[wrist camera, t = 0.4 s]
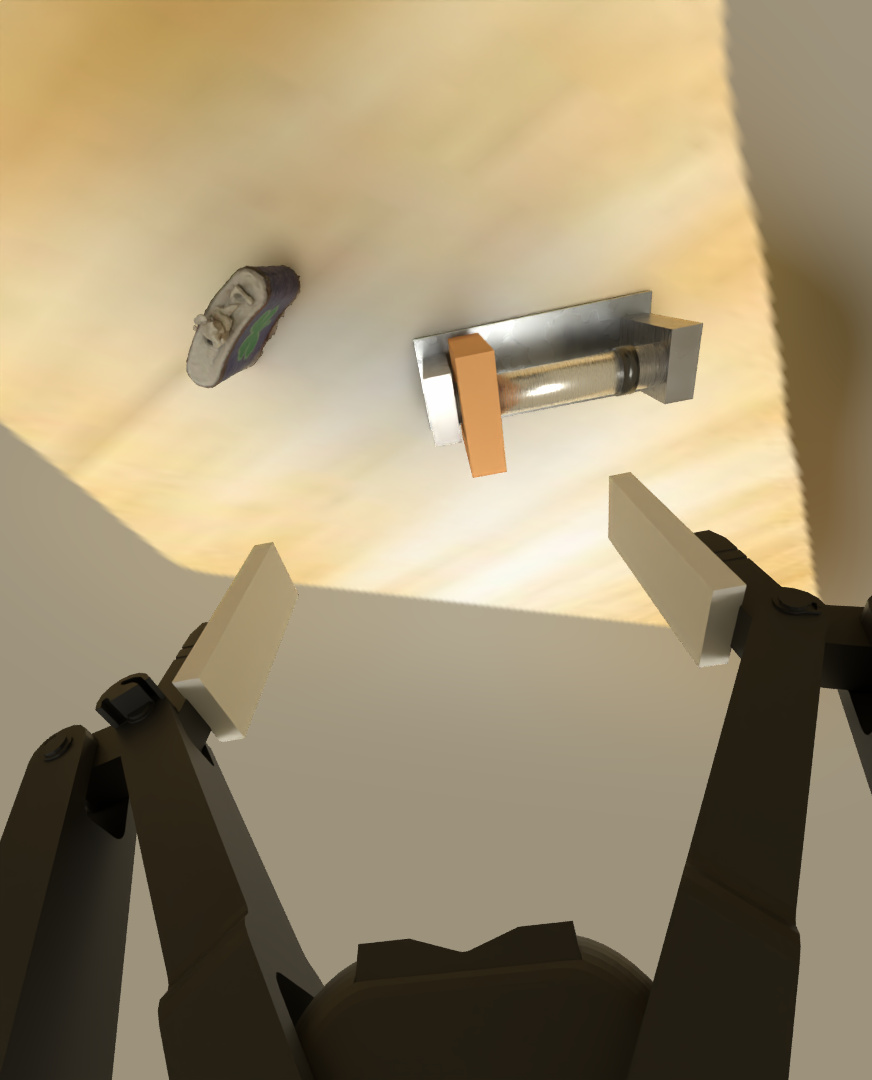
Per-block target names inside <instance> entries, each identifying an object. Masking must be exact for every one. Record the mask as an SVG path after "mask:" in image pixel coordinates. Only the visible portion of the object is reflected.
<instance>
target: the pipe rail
mask: <svg viewBox="0 0 872 1080" xmlns="http://www.w3.org/2000/svg"><path fill="white" fill-rule="evenodd" d="M651 299H652V291H643V292H639V293H634V294H629V295H624V296H619V297H614V298H610V299H605V300H600V301H595V302H590V303H585V304H581V305H576V306H571V307H566V308H561V309H557V310H552V311H547V312H542V313H537V314H532V315H528V316H523V317H518V318H513V319H508V320H503V321H499V322H494V323H489V324H484V325H479V326H474V327H470V328H465V329H460V330H455V331H450V332H446V333H441V334H436V335H431V336H426V337H421V338H417V339H413V342H414V347H415V352H416V357H417V362H418V367H419V372H420V377H421V383H422V388H423V393H424V398H425V403H426V408H427V413H428V419H429V424H430V429H431V431H432V430H433V436H434V441H435V446H436V447H438V446H444V445H449V444H454V443H460V442H462V441H461V434H460V428H459V425H461V423H463V419H462V412H461V406H460V399H459V392H458V386H457V382H454V378H453V371H452V365H451V358H450V352H449V345H448V338H453V337H458V336H463V335H468V334H473V333H479V334H480V336H481V337H482V338H483V339H484V340H485V341H486V342H487V343H488V344H489V345H490V346H491V347H492V348H493V350H494V353H495V363H496V372H497V382H498V392H499V402H500V411H501V417H506V416H511V415H516V414H522V413H527V412H532V411H537V410H543V409H548V408H553V407H558V406H564V405H569V404H574V403H579V402H585V401H590V400H595V399H600V398H605V397H611V396H621V395H627V394H632V393H634V392H637V391H641V392H643V393H645V394H647V395H649V396H651V397H652V398H654V399H656V400H658V401H660V402H662V403H664V404H668V403H673V402H678V401H684V400H689V399H693V393H694V386H695V379H696V371H697V364H698V357H699V349H700V342H701V335H702V327H703V323H699V322H694V321H688V320H683V319H677V318H672V317H666V316H661V315H655V314H650V312H651Z"/></svg>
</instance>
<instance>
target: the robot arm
mask: <svg viewBox="0 0 872 1080" xmlns="http://www.w3.org/2000/svg"><path fill="white" fill-rule="evenodd" d="M608 538H609V540H610V541H611V542H612V544H613V545H614V547H615V548H616V550H617V551H618V552H619V554H620V555H621V557H622V558H623V560H624V561H625V563H626V564H627V565H628V567H629V568H630V570H631V571H632V573H633V574H634V575H635V577H636V578H637V580H638V581H639V583H640V584H641V586H642V587H643V588H644V590H645V591H646V593H647V594H648V596H649V597H650V598H651V600H652V601H653V603H654V604H655V606H656V607H657V609H658V610H659V611H660V613H661V614H662V616H663V617H664V619H665V620H666V621H667V623H668V624H669V626H670V627H671V629H672V630H673V632H674V633H675V634H676V636H677V637H678V639H679V640H680V642H681V643H682V644H683V646H684V647H685V649H686V650H687V651H688V653H689V655H690V656H691V657H692V659H693V660H694V662H695V663H696V665H697V666H698V667H699V668H700V667H706V666H712V665H719V664H726V663H728V660H729V656H730V652H731V648H733V650H734V651H735V652H736V653H737V655H738V656H739V657H740V658H741V662H740V665H739V669H738V673H737V676H736V680H735V684H734V688H733V691H732V695H731V699H730V703H729V706H728V710H727V713H726V717H725V721H724V725H723V728H722V732H721V735H720V739H719V743H718V747H717V750H716V754H715V757H714V761H713V765H712V768H711V773H710V776H709V779H708V783H707V787H706V790H705V794H704V798H703V801H702V805H701V809H700V813H699V816H698V820H697V824H696V827H695V831H694V835H693V838H692V842H691V846H690V849H689V853H688V857H687V861H686V864H685V867H684V871H683V875H682V878H681V882H680V885H679V889H678V893H677V897H676V900H675V904H674V908H673V911H672V915H671V918H670V922H669V926H668V929H667V933H666V937H665V941H664V944H663V948H662V952H661V955H660V959H659V962H658V966H657V970H656V973H655V977H654V981H653V982H652V981H651V979H650V978H649V977H648V976H646V975H645V974H644V973H643V972H642V971H641V970H640V969H639V968H638V967H637V966H635V965H634V964H633V963H632V962H631V961H629V960H628V959H626V958H625V957H624V956H622V955H621V954H620V953H618V952H616V951H614V950H613V949H611V948H609V947H607V946H606V945H604V944H601V943H599V942H596V941H594V940H591V939H589V938H585V937H581V936H577V935H576V933H575V929H574V924H573V921H567V922H559V923H549V924H540V925H531V926H522V927H517V928H515V929H513V930H511V931H509V932H507V933H505V934H503V935H501V936H499V937H496V938H495V939H492V940H490V941H488V942H486V943H484V944H482V945H480V946H478V947H476V948H474V949H472V950H470V951H466V952H459V951H455V950H450V949H447V948H443V947H439V946H435V945H432V944H427V943H424V942H420V941H416V940H412V939H402V940H393V941H384V942H375V943H366V944H359V945H358V955H357V962H355V963H353V964H352V965H350V966H348V967H347V968H345V969H344V970H342V971H341V972H340V973H338V974H337V975H336V976H335V977H334V978H333V979H331V981H329V982H328V983H327V984H326V985H325V986H324V985H323V984H322V982H321V980H320V979H319V977H318V976H317V974H316V972H315V971H314V970H313V968H312V967H311V965H310V964H309V962H308V960H307V959H306V957H305V955H304V953H303V951H302V949H301V947H300V945H299V943H298V940H297V938H296V936H295V934H294V931H293V929H292V927H291V925H290V922H289V920H288V918H287V916H286V914H285V911H284V909H283V907H282V905H281V903H280V900H279V898H278V896H277V894H276V892H275V889H274V887H273V885H272V883H271V880H270V878H269V876H268V874H267V872H266V869H265V867H264V865H263V863H262V860H261V858H260V856H259V854H258V852H257V849H256V847H255V845H254V843H253V841H252V838H251V837H250V834H249V832H248V830H247V827H246V825H245V823H244V821H243V818H242V816H241V814H240V812H239V810H238V807H237V805H236V803H235V801H234V799H233V796H232V794H231V792H230V790H229V787H228V785H227V783H226V781H225V779H224V776H223V774H222V772H221V770H220V768H219V765H218V763H217V761H216V759H215V756H214V755H213V752H212V750H211V748H210V747H209V746H208V745H207V744H206V741H207V738H208V736H209V734H210V732H211V731H212V732H213V733H214V734H215V736H216V737H217V738H218V739H219V740H220V742H223V741H230V740H236V739H243V738H245V736H246V734H247V731H248V728H249V725H250V723H251V720H252V718H253V715H254V712H255V709H256V707H257V704H258V701H259V699H260V696H261V694H262V691H263V688H264V686H265V683H266V681H267V678H268V675H269V672H270V670H271V667H272V665H273V662H274V659H275V657H276V654H277V651H278V648H279V646H280V643H281V641H282V638H283V635H284V633H285V630H286V627H287V625H288V622H289V619H290V617H291V614H292V612H293V609H294V606H295V604H296V601H297V598H298V595H299V594H298V592H297V590H296V588H295V586H294V584H293V582H292V580H291V578H290V576H289V574H288V572H287V570H286V568H285V566H284V564H283V562H282V560H281V558H280V556H279V554H278V552H277V549H276V547H275V545H274V543H273V542H271V543H265V544H260V545H255V546H254V547H253V549H252V551H251V552H250V554H249V556H248V557H247V559H246V561H245V562H244V564H243V566H242V567H241V569H240V571H239V572H238V574H237V576H236V577H235V579H234V581H233V582H232V584H231V586H230V587H229V589H228V590H227V592H226V594H225V595H224V597H223V599H222V601H221V602H220V604H219V605H218V607H217V609H216V610H215V612H214V614H213V615H212V617H211V619H210V620H209V622H205V623H202V624H201V625H200V626H199V627H198V628H197V629H196V630H195V631H194V632H192V633H191V634H190V636H189V637H188V639H187V641H186V642H185V644H184V645H183V647H182V648H183V649H182V650H180V651H179V653H178V655H177V656H176V660H174V661H173V662H172V664H171V666H170V667H169V669H168V670H167V672H166V674H165V675H164V677H163V678H162V680H161V682H160V683H159V685H158V686H157V685H156V684H155V683H154V682H153V681H152V680H151V678H150V677H149V676H148V675H147V674H145V673H137V674H133V675H130V676H128V677H125V678H123V679H121V680H119V681H118V682H117V683H115V684H114V685H112V686H111V687H110V688H109V689H108V690H107V691H106V692H105V693H104V694H103V695H102V696H101V697H100V699H99V701H98V702H97V705H96V711H97V712H98V713H99V714H100V715H101V716H102V717H103V718H104V719H105V720H106V721H107V722H108V723H109V724H110V725H111V726H109V727H107V728H105V729H102V730H100V731H97V732H95V733H93V734H91V733H90V732H89V731H88V730H87V729H86V728H84V727H83V726H81V725H73V726H71V727H68V728H65V729H63V730H61V731H59V732H58V733H56V734H54V735H52V736H51V737H50V738H49V739H47V740H46V741H45V742H44V743H43V744H42V745H41V746H40V747H39V748H38V749H37V750H36V751H35V752H34V754H33V756H32V758H31V759H30V761H29V764H28V766H27V769H26V772H25V775H24V777H23V780H22V783H21V786H20V788H19V791H18V794H17V797H16V799H15V802H14V805H13V807H12V810H11V813H10V816H9V818H8V821H7V824H6V827H5V829H4V832H3V835H2V838H1V840H0V1080H112V1072H113V1062H114V1053H115V1043H116V1033H117V1022H118V1013H119V1003H120V993H121V982H122V973H123V963H124V953H125V943H126V933H127V923H128V913H129V903H130V893H131V883H132V874H133V873H132V872H133V864H134V854H135V853H134V852H135V843H136V834H137V835H138V839H139V844H140V849H141V853H142V859H143V863H144V868H145V872H146V877H147V882H148V886H149V891H150V896H151V900H152V905H153V910H154V914H155V920H156V924H157V928H158V934H159V938H160V943H161V948H162V952H163V957H164V962H165V966H166V971H167V976H168V984H169V986H168V991H167V992H166V993H165V995H164V996H163V997H162V998H161V999H160V1002H159V1007H158V1017H159V1027H160V1032H161V1038H162V1043H163V1049H164V1054H165V1059H166V1065H167V1070H168V1076H169V1080H788V1078H789V1067H790V1057H791V1047H792V1037H793V1026H794V1025H793V1024H794V1016H795V1005H796V995H797V985H798V975H799V964H800V947H801V946H800V934H799V932H798V930H797V927H796V906H797V896H798V887H799V878H800V869H801V860H802V859H801V858H802V850H803V841H804V832H805V823H806V814H807V804H808V795H809V786H810V776H811V768H812V767H811V766H812V758H813V748H814V739H815V730H816V721H817V712H818V702H819V694H820V687H823V688H831V689H838V692H839V695H840V699H841V702H842V705H843V707H844V710H845V714H846V717H847V720H848V723H849V726H850V729H851V732H852V735H853V739H854V742H855V744H856V748H857V751H858V754H859V757H860V760H861V763H862V766H863V769H864V772H865V775H866V778H867V782H868V784H869V788H870V791H871V794H872V596H871V597H870V598H869V599H868V600H867V603H866V605H865V607H853V606H833V605H825V604H824V603H823V602H822V601H821V600H820V599H819V598H817V597H815V596H813V595H812V594H810V593H808V592H805V591H802V590H798V589H795V588H787V587H781V586H780V585H779V584H778V583H776V582H775V581H774V580H773V579H772V578H771V577H770V576H769V575H767V574H766V573H765V572H764V571H763V570H762V569H761V568H759V567H758V566H757V565H756V564H755V563H754V562H753V561H752V560H750V559H749V558H748V559H747V556H746V555H745V554H744V553H742V552H741V551H740V550H738V549H737V547H736V546H735V545H733V544H732V543H731V542H730V541H729V540H728V539H727V538H725V537H723V536H721V535H719V534H716V533H714V532H712V531H710V530H707V531H701V532H696V533H693V532H692V531H691V530H690V529H689V528H687V527H686V526H685V525H684V524H683V523H682V522H681V521H680V520H679V519H678V518H677V517H676V516H675V515H674V514H673V513H672V512H671V511H670V510H669V509H668V508H667V507H666V506H665V505H664V504H663V503H662V502H661V501H660V500H659V499H658V498H657V497H656V496H655V495H653V494H652V493H651V492H650V491H649V490H648V489H647V488H646V487H645V486H644V485H643V484H642V483H641V482H640V481H639V480H638V479H637V478H636V477H635V476H634V475H633V474H632V473H631V472H628V473H623V474H618V475H613V476H609V528H608Z"/></svg>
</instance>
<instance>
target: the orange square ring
mask: <svg viewBox="0 0 872 1080" xmlns="http://www.w3.org/2000/svg"><path fill="white" fill-rule="evenodd" d="M448 345H449V352H450V358H451V365H452V371H453V378H454V382H457V386H458V392H459V399H460V406H461V412H462V419H463V423H461V429H462V436H463V440H464V444H465V448H466V452H467V456H468V460H469V464H470V468H471V472H472V476H473V478H475V477H480V476H486V475H491V474H497V473H502V472H507V470H506V460H505V450H504V441H503V431H502V421H501V411H500V402H499V392H498V382H497V372H496V363H495V353H494V350H493V348H492V347H491V346H490V345H489V344H488V343H487V342H486V341H485V340H484V339H483V338H482V337H481V336H480V334H479V333H473V334H468V335H463V336H458V337H453V338H448Z"/></svg>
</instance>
